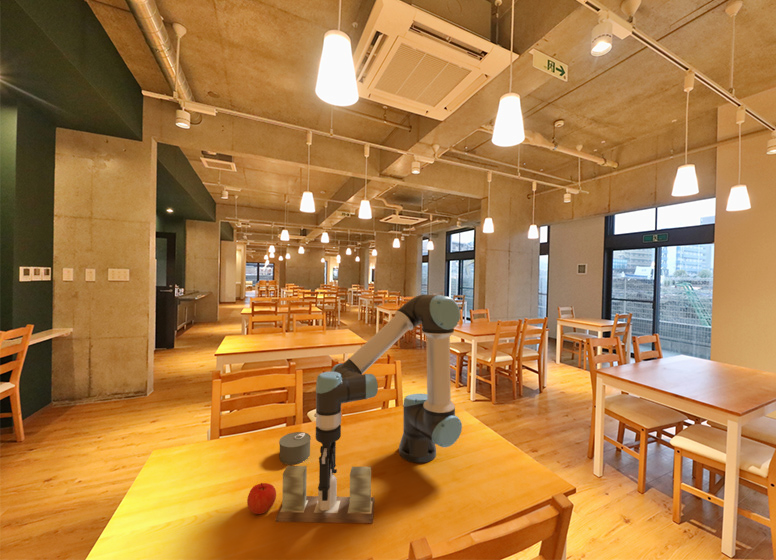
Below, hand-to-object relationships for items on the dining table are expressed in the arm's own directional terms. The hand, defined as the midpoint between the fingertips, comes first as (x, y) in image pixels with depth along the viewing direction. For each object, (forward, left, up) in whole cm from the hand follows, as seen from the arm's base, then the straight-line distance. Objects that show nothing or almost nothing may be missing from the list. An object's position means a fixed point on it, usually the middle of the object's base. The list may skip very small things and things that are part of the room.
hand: (327, 502), depth 93 cm
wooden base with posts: (0, 0, -3) cm, 3 cm away
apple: (+20, 0, -3) cm, 20 cm away
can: (+19, -29, -3) cm, 35 cm away
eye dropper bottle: (0, 0, -1) cm, 1 cm away
